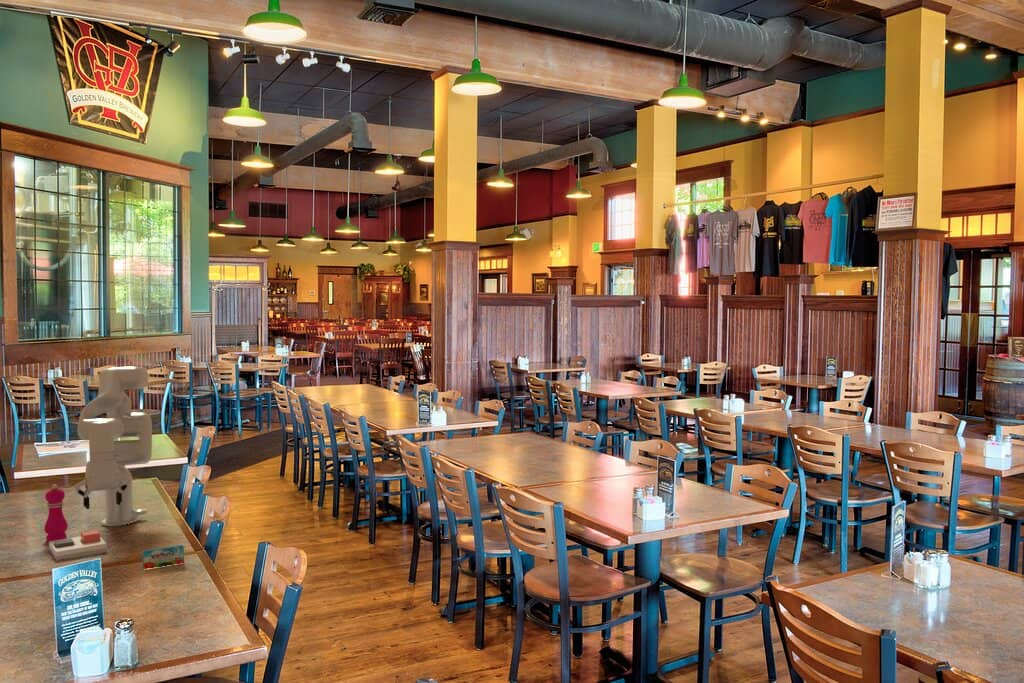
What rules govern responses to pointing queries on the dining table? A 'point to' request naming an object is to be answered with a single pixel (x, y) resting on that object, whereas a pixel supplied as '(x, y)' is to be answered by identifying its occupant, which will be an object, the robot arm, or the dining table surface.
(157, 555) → the blue printed product box
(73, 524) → the dining table surface
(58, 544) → the button black
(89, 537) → the button red
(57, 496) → the pepper mill
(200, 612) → the dining table surface
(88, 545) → the switch panel
